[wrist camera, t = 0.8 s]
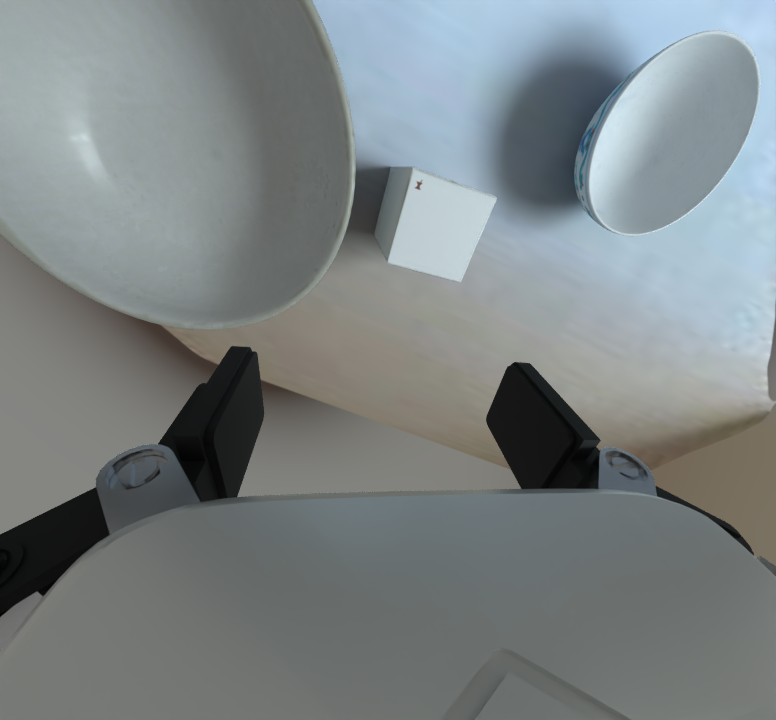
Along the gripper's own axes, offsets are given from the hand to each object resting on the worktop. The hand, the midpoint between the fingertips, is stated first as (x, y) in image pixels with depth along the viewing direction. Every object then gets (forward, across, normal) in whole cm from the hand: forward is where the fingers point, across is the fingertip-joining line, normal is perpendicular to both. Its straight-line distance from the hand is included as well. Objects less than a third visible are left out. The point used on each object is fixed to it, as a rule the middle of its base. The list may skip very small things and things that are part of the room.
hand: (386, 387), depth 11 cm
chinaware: (+29, -27, -12) cm, 42 cm away
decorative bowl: (+29, +15, -6) cm, 33 cm away
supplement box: (+29, -6, -3) cm, 30 cm away
